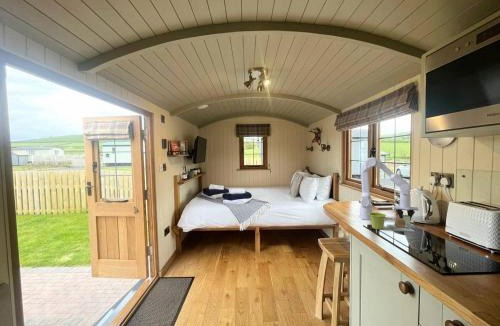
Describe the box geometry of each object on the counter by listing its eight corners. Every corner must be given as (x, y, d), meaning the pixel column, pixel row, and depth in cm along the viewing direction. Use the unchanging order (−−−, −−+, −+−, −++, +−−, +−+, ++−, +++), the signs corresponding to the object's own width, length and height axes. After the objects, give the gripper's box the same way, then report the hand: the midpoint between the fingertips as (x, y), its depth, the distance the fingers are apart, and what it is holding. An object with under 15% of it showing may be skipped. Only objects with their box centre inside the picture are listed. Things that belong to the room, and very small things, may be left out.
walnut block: (394, 226, 139) (394, 218, 138) (402, 226, 138) (401, 218, 138) (397, 228, 135) (397, 220, 134) (405, 228, 134) (405, 220, 134)
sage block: (400, 222, 148) (400, 214, 148) (407, 222, 148) (407, 215, 148) (403, 224, 145) (403, 216, 144) (410, 224, 144) (410, 216, 144)
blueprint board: (386, 225, 143) (386, 224, 142) (405, 226, 140) (405, 225, 140) (394, 231, 132) (394, 229, 132) (414, 231, 130) (414, 230, 129)
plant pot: (365, 227, 140) (365, 213, 140) (375, 225, 144) (375, 211, 144) (379, 231, 132) (379, 217, 131) (389, 229, 136) (389, 215, 135)
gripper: (395, 201, 143) (395, 222, 144) (421, 202, 140) (421, 223, 141) (391, 199, 150) (391, 219, 151) (415, 199, 147) (415, 220, 148)
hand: (405, 221), depth 146 cm, fingers closed on sage block, 4 cm apart
